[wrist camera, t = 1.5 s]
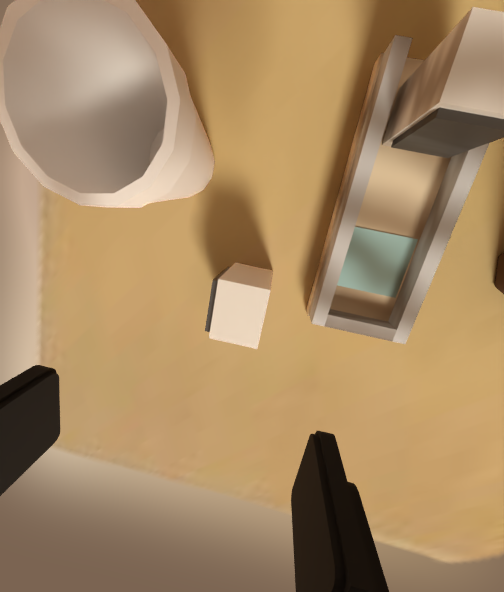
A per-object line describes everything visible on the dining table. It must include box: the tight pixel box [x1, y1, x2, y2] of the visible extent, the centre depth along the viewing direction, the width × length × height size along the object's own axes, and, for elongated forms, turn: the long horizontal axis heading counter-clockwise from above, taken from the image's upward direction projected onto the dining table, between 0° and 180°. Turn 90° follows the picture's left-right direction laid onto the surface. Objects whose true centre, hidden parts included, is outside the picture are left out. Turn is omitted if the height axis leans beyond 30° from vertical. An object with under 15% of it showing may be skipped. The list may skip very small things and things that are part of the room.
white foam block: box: [205, 263, 273, 349], centre depth 24 cm, size 4×5×8 cm
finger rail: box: [306, 7, 504, 344], centre depth 20 cm, size 22×9×10 cm, turn 169°
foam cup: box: [0, 0, 215, 208], centre depth 18 cm, size 10×9×13 cm
